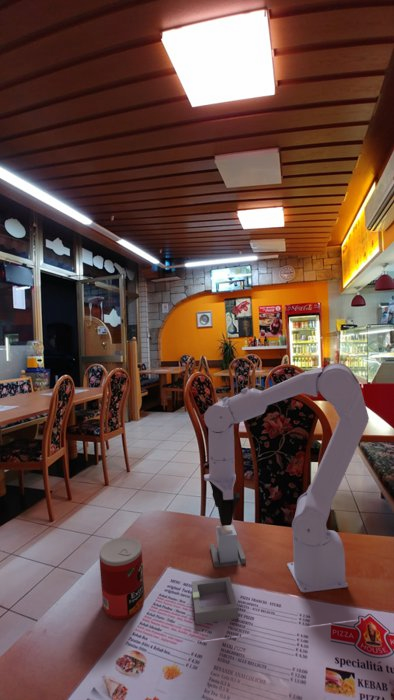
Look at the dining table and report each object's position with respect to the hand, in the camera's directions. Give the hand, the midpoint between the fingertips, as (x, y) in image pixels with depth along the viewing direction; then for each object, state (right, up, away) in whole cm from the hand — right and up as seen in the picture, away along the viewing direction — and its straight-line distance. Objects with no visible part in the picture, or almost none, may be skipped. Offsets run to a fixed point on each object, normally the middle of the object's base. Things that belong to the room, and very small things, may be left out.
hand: (223, 514), depth 76 cm
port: (-3, -11, -13) cm, 17 cm away
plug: (+1, -10, +1) cm, 10 cm away
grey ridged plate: (+1, -10, +1) cm, 10 cm away
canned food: (-20, -12, -11) cm, 26 cm away
